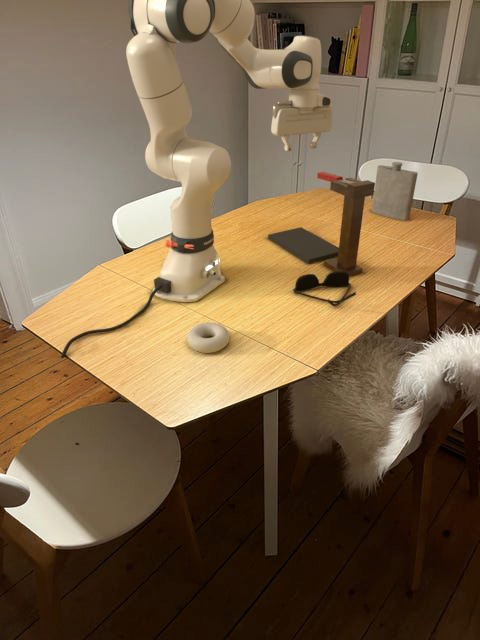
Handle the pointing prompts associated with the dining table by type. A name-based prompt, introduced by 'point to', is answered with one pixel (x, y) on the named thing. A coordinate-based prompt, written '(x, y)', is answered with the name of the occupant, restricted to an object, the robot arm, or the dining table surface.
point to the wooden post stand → (350, 224)
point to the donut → (208, 344)
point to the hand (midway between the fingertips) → (300, 149)
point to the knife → (332, 177)
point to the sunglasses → (324, 284)
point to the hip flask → (394, 191)
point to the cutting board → (304, 245)
